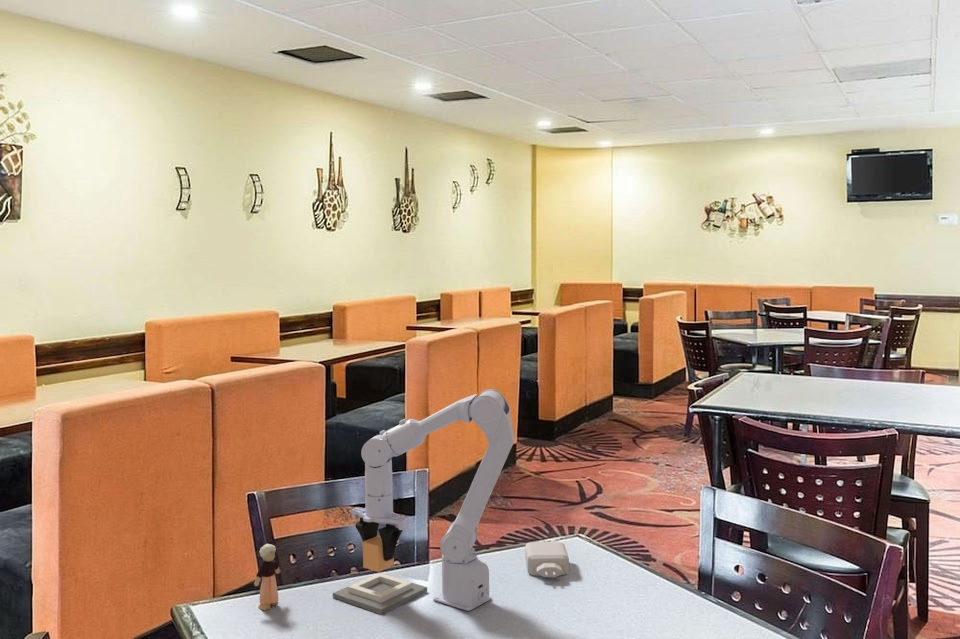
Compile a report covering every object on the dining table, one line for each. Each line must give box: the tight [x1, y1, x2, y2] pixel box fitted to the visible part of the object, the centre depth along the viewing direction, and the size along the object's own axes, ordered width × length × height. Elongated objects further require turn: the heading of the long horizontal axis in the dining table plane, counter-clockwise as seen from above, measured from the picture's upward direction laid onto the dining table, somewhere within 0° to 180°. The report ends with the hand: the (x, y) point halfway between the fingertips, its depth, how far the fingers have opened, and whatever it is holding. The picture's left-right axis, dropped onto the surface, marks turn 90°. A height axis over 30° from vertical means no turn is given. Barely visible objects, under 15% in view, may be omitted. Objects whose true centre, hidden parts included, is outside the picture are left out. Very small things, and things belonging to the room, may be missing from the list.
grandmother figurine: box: [253, 543, 281, 611], centre depth 164 cm, size 8×4×13 cm, turn 168°
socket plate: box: [332, 572, 428, 615], centre depth 169 cm, size 14×14×2 cm
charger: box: [524, 541, 570, 578], centre depth 181 cm, size 5×9×15 cm
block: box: [362, 535, 395, 573], centre depth 168 cm, size 4×4×6 cm
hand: (379, 556), depth 168 cm, fingers closed on block, 4 cm apart
